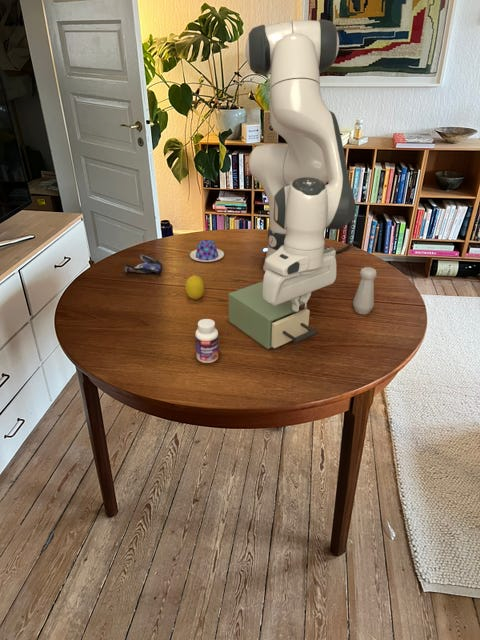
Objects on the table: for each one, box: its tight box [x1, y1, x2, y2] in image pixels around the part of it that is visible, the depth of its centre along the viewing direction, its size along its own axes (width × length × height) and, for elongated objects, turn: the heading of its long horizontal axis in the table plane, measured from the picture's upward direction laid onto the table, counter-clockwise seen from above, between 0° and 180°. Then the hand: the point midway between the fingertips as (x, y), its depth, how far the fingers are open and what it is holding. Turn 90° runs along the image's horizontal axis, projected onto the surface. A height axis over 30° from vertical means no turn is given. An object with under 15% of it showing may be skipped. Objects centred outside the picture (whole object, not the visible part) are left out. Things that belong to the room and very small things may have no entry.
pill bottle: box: [194, 318, 220, 364], centre depth 110 cm, size 5×5×10 cm
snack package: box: [123, 254, 163, 276], centre depth 152 cm, size 12×6×12 cm
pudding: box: [189, 239, 225, 263], centre depth 162 cm, size 12×12×5 cm
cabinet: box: [227, 280, 308, 350], centre depth 122 cm, size 17×13×9 cm
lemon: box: [184, 274, 205, 301], centre depth 135 cm, size 6×6×8 cm
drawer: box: [270, 308, 318, 349], centre depth 118 cm, size 21×11×7 cm, turn 37°
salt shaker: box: [352, 266, 378, 315], centre depth 128 cm, size 6×6×13 cm
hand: (299, 309), depth 110 cm, fingers closed
